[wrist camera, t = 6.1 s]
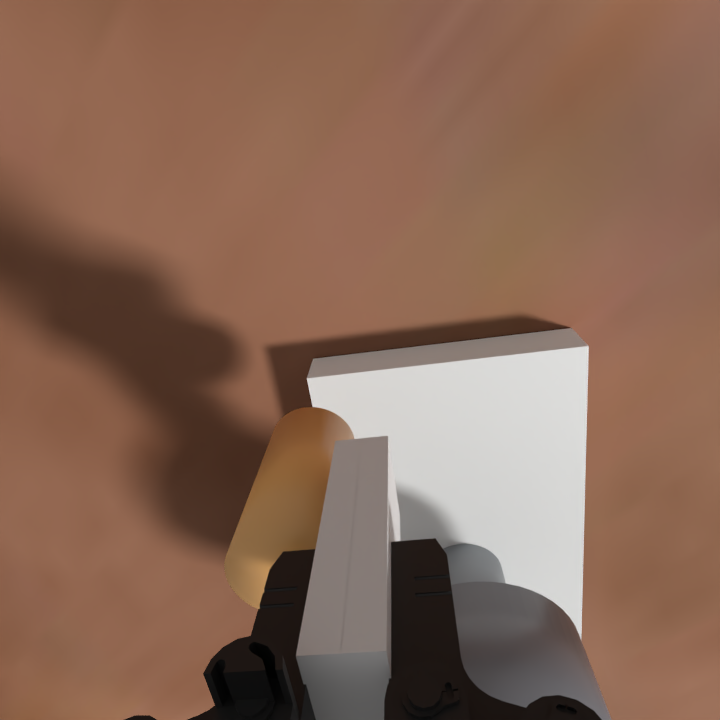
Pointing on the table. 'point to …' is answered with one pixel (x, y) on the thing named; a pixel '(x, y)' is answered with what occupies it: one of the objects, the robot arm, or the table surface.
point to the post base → (480, 450)
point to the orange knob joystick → (471, 599)
